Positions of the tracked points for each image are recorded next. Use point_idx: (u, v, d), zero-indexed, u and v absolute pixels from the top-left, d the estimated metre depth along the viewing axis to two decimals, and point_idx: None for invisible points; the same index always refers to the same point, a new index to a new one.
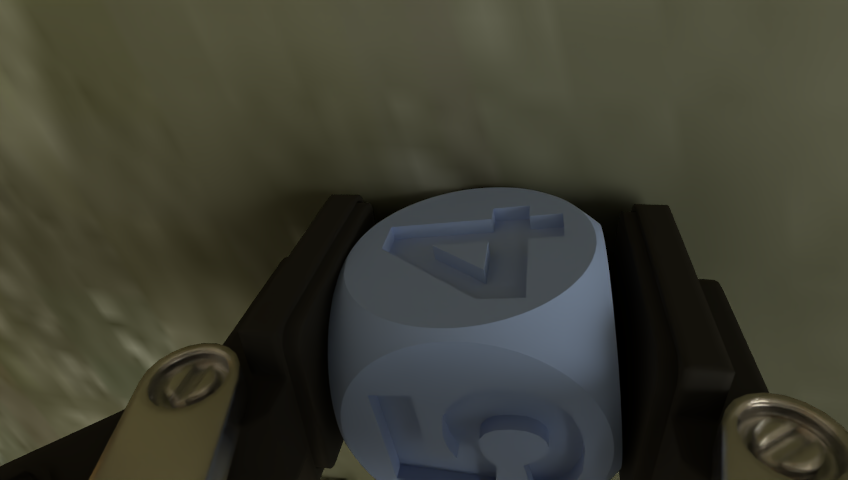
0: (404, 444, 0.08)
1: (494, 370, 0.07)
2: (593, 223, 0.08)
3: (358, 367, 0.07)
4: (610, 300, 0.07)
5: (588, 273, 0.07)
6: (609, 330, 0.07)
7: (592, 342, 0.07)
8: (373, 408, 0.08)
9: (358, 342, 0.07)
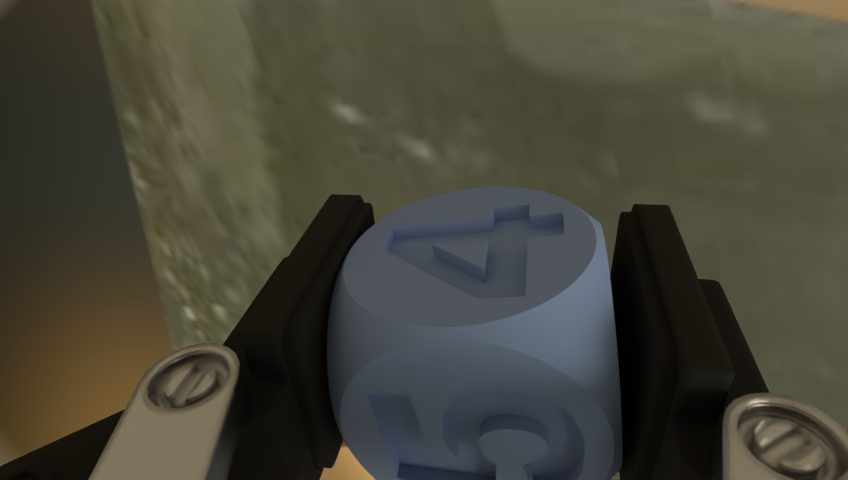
0: (404, 444, 0.08)
1: (494, 368, 0.07)
2: (593, 222, 0.08)
3: (357, 366, 0.07)
4: (610, 299, 0.07)
5: (588, 272, 0.07)
6: (609, 329, 0.07)
7: (592, 341, 0.07)
8: (372, 407, 0.08)
9: (357, 341, 0.07)
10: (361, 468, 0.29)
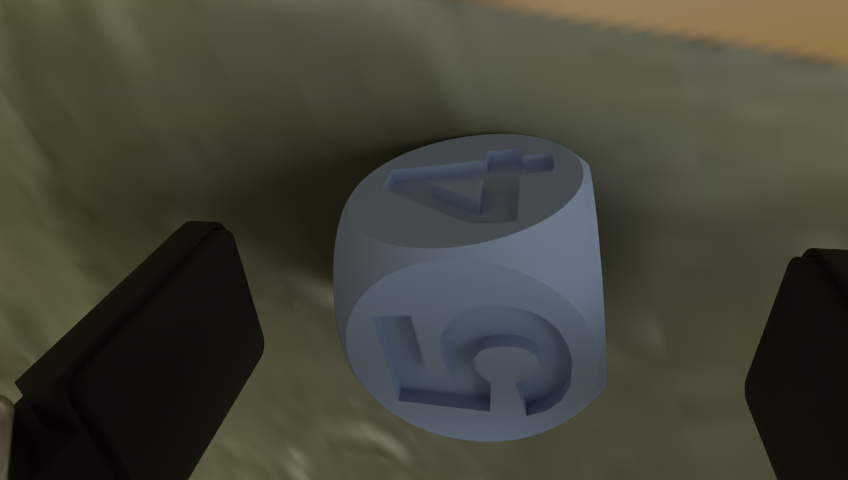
0: (406, 369, 0.09)
1: (488, 286, 0.07)
2: (581, 160, 0.09)
3: (362, 290, 0.08)
4: (595, 225, 0.08)
5: (575, 200, 0.08)
6: (594, 251, 0.07)
7: (578, 261, 0.07)
8: (376, 330, 0.08)
9: (362, 267, 0.08)
10: None
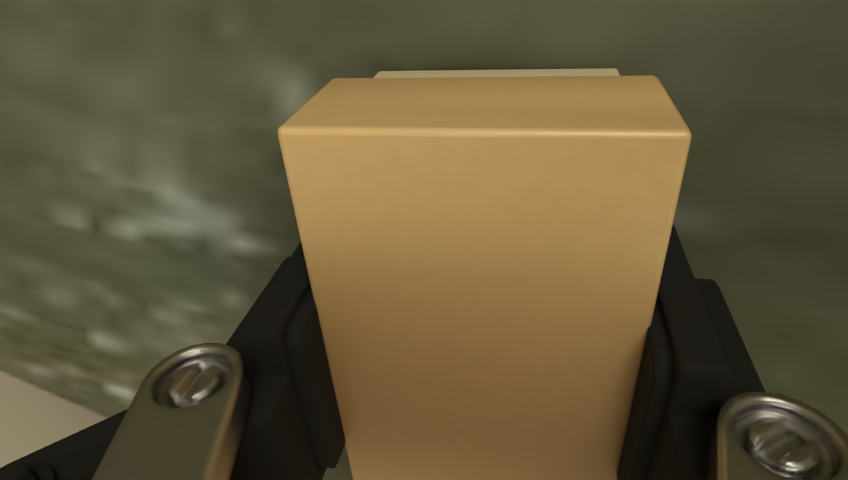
0: None
1: None
2: None
3: None
4: None
5: None
6: None
7: None
8: None
9: None
10: (442, 289, 0.07)
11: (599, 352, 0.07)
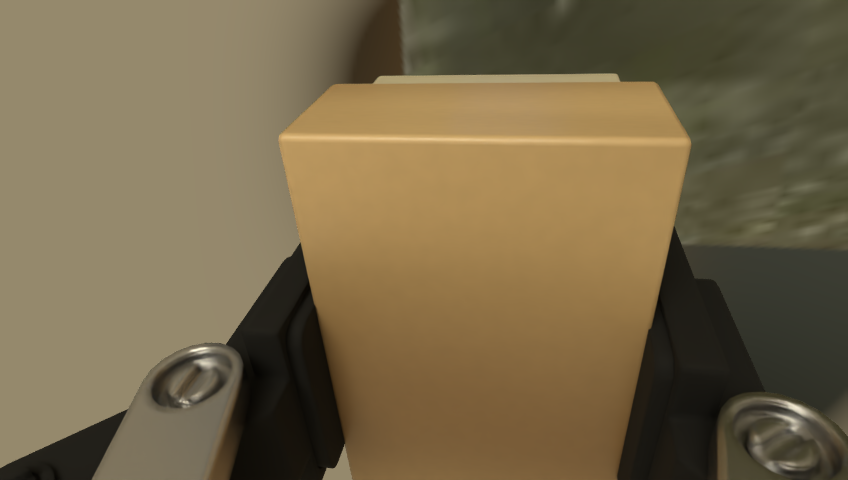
0: None
1: None
2: None
3: None
4: None
5: None
6: None
7: None
8: None
9: None
10: (442, 294, 0.07)
11: (599, 358, 0.07)
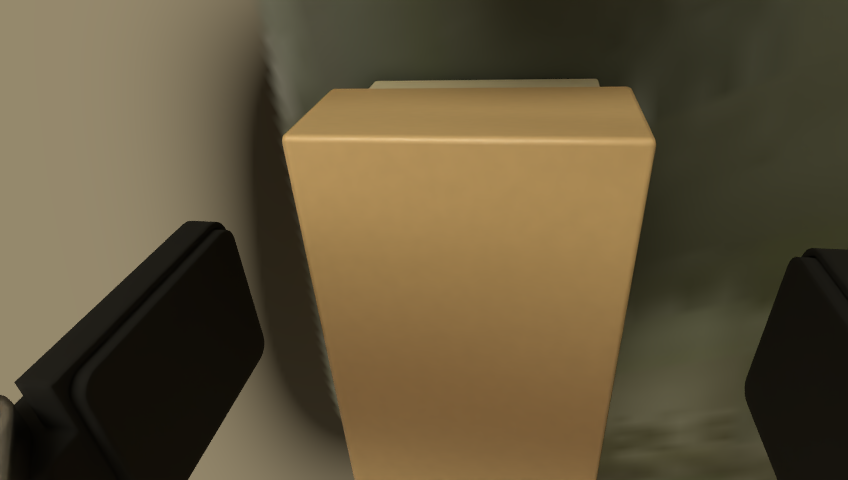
0: None
1: None
2: None
3: None
4: None
5: None
6: None
7: None
8: None
9: None
10: (433, 283, 0.07)
11: (579, 342, 0.07)
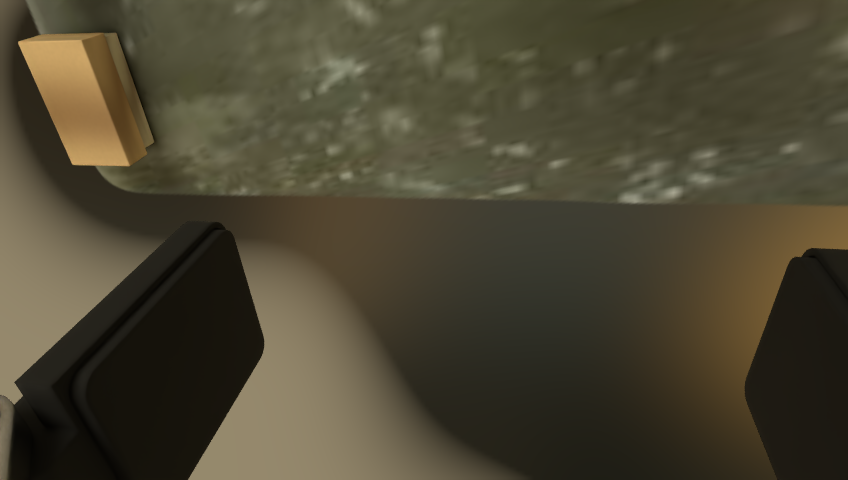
0: None
1: None
2: None
3: None
4: None
5: None
6: None
7: None
8: None
9: None
10: (58, 77, 0.33)
11: (92, 91, 0.33)
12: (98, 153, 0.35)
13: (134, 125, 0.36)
